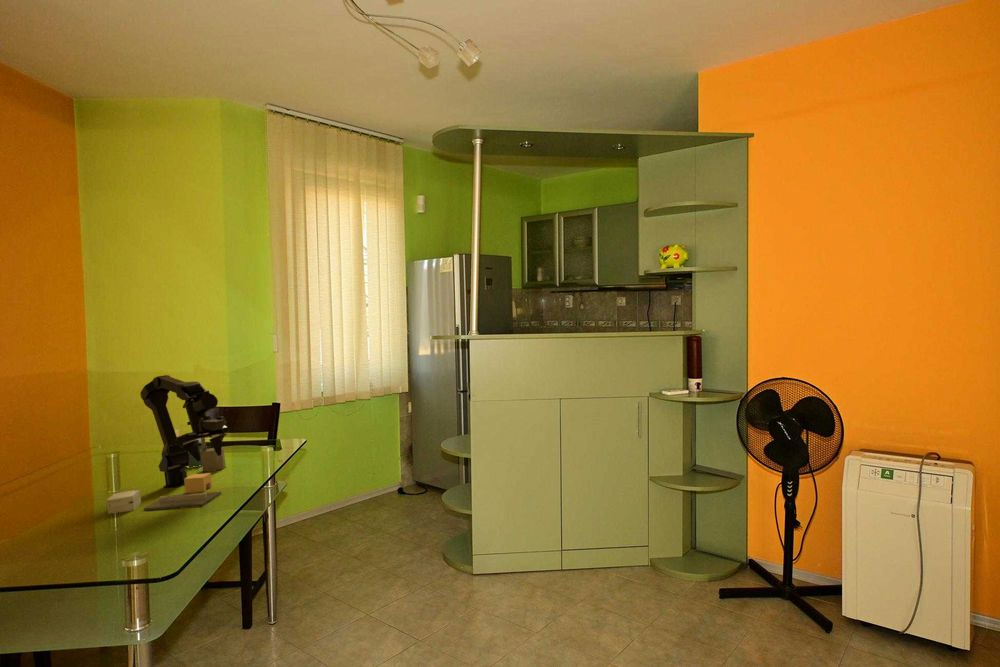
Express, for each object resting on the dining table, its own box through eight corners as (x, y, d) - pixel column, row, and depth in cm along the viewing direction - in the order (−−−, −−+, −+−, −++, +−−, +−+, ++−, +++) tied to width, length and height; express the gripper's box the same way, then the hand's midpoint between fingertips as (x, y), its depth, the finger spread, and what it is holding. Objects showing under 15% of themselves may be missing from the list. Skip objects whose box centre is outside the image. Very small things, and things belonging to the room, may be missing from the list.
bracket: (209, 464, 244) (206, 444, 244) (184, 469, 240) (182, 448, 239) (207, 460, 252) (205, 440, 252) (183, 465, 247) (181, 444, 247)
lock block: (185, 493, 206) (183, 478, 205) (193, 488, 211) (192, 474, 211) (204, 491, 205) (203, 477, 205) (212, 486, 211) (210, 473, 210)
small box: (107, 515, 189) (105, 499, 189) (116, 507, 197) (114, 492, 196) (134, 510, 191) (132, 495, 191) (142, 503, 199) (140, 488, 198)
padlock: (223, 469, 234) (218, 433, 233) (202, 472, 233) (197, 435, 232) (226, 466, 238) (222, 431, 237) (205, 469, 237) (201, 433, 236)
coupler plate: (143, 510, 190) (142, 503, 189) (165, 498, 202) (165, 491, 201) (202, 506, 189) (201, 499, 189) (221, 493, 201) (220, 487, 201)
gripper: (193, 412, 194) (206, 457, 193) (234, 406, 212) (246, 446, 210) (169, 422, 197) (181, 466, 196) (211, 415, 215) (223, 455, 213)
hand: (209, 458), depth 204 cm, fingers open, 9 cm apart
